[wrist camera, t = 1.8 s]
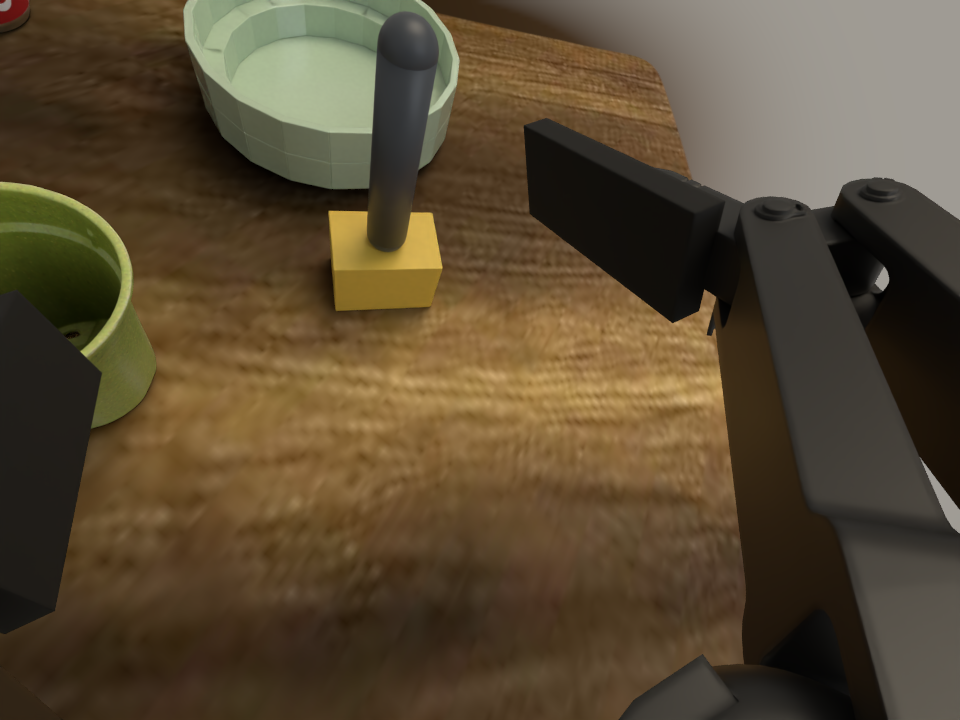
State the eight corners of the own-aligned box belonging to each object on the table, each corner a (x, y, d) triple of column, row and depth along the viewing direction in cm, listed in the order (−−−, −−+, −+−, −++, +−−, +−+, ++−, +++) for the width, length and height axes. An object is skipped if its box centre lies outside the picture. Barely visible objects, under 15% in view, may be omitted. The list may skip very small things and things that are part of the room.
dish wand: (335, 311, 29) (323, 46, 14) (330, 257, 31) (315, -35, 16) (430, 307, 31) (506, 68, 16) (421, 256, 32) (484, -7, 18)
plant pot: (137, 267, 27) (53, 148, 19) (229, 392, 26) (178, 316, 18) (-63, 352, 23) (-269, 244, 15) (33, 506, 22) (-140, 472, 14)
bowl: (151, 82, 32) (116, -4, 28) (336, 7, 40) (334, -70, 35) (330, 238, 31) (327, 177, 26) (485, 130, 39) (505, 67, 34)
